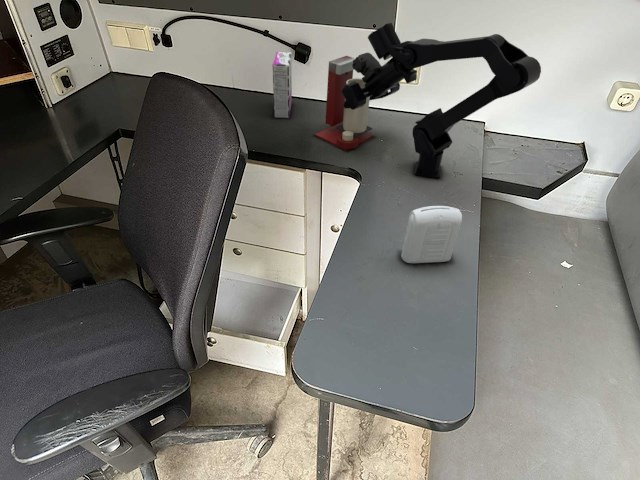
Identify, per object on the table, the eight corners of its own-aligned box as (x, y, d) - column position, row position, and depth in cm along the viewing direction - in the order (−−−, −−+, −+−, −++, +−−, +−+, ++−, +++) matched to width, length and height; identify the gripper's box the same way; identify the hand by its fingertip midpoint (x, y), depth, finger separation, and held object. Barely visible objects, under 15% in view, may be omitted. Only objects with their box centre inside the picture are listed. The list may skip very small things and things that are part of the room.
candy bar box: (276, 103, 152) (275, 51, 142) (291, 104, 152) (292, 51, 142) (273, 118, 144) (271, 63, 133) (289, 119, 144) (289, 64, 133)
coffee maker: (376, 138, 136) (377, 130, 135) (348, 153, 129) (349, 145, 127) (341, 123, 143) (341, 116, 141) (313, 136, 135) (313, 128, 134)
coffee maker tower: (372, 129, 135) (380, 66, 124) (356, 137, 131) (362, 73, 120) (341, 116, 141) (346, 55, 130) (325, 123, 137) (328, 61, 126)
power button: (355, 139, 131) (355, 133, 130) (348, 142, 129) (348, 136, 128) (346, 135, 132) (347, 129, 131) (339, 138, 131) (340, 133, 129)
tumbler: (369, 131, 133) (374, 86, 125) (347, 134, 131) (350, 88, 123) (361, 121, 138) (366, 77, 130) (339, 123, 136) (343, 79, 128)
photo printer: (446, 249, 99) (459, 200, 91) (453, 262, 96) (468, 213, 88) (398, 251, 97) (408, 202, 90) (404, 265, 94) (414, 215, 86)
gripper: (397, 38, 123) (361, 69, 136) (349, 53, 113) (315, 85, 125) (417, 77, 124) (379, 104, 137) (371, 95, 113) (335, 122, 126)
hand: (353, 103), depth 131 cm, fingers closed on tumbler, 7 cm apart
